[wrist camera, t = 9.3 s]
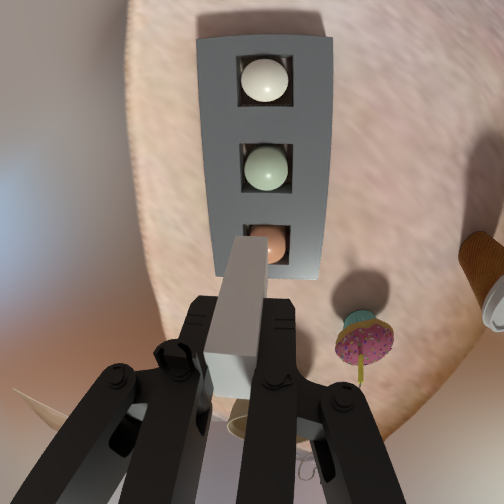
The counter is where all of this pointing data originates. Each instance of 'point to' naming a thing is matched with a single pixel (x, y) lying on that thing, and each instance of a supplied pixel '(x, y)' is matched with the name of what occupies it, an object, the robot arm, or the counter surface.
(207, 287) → the counter surface
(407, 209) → the counter surface
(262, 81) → the white rounded piece
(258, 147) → the sage button
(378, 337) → the cupcake
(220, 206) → the button panel
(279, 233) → the terracotta button
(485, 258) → the disposable coffee cup
